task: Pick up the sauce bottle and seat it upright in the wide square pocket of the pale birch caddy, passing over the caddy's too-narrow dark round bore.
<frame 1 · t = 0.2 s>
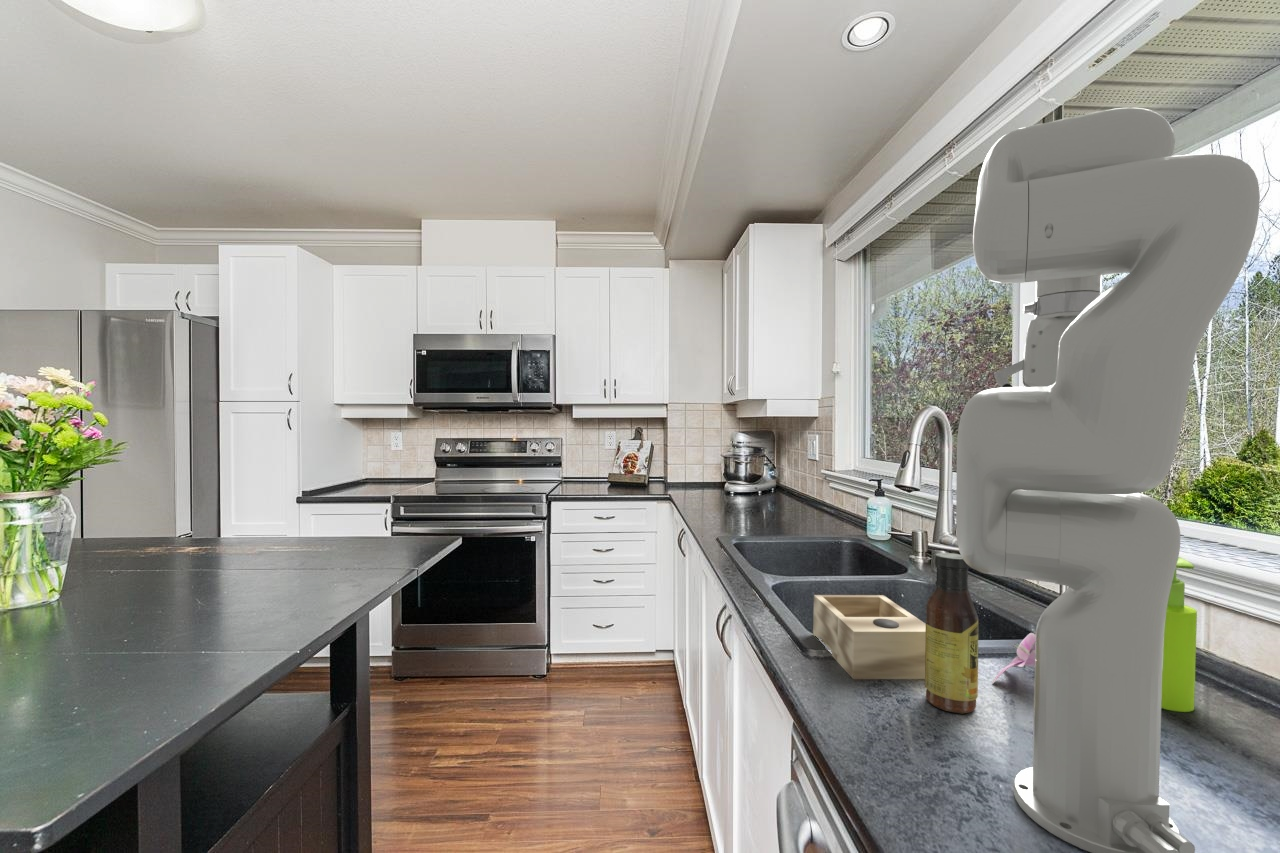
hand: (1064, 430, 82), 37 cm above the worktop, tool pointing down, fingers open, 9 cm apart
sauce bottle: (950, 705, 77), on the worktop
lily: (1027, 685, 84), on the worktop
caddy: (869, 654, 93), on the worktop
soap dispenser: (1166, 704, 78), on the worktop
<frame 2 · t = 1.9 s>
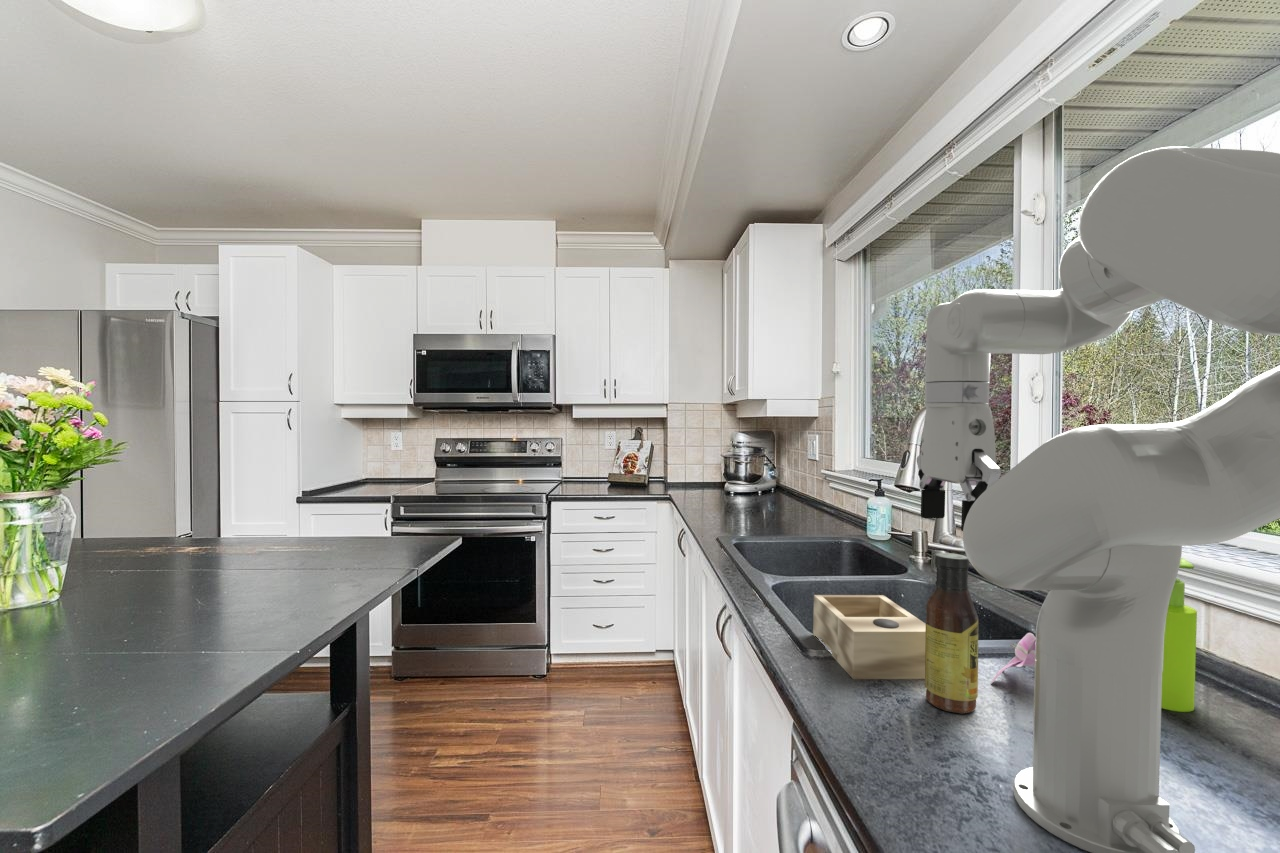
hand: (952, 524, 77), 24 cm above the worktop, tool pointing down, fingers open, 9 cm apart
nothing on the worktop moved.
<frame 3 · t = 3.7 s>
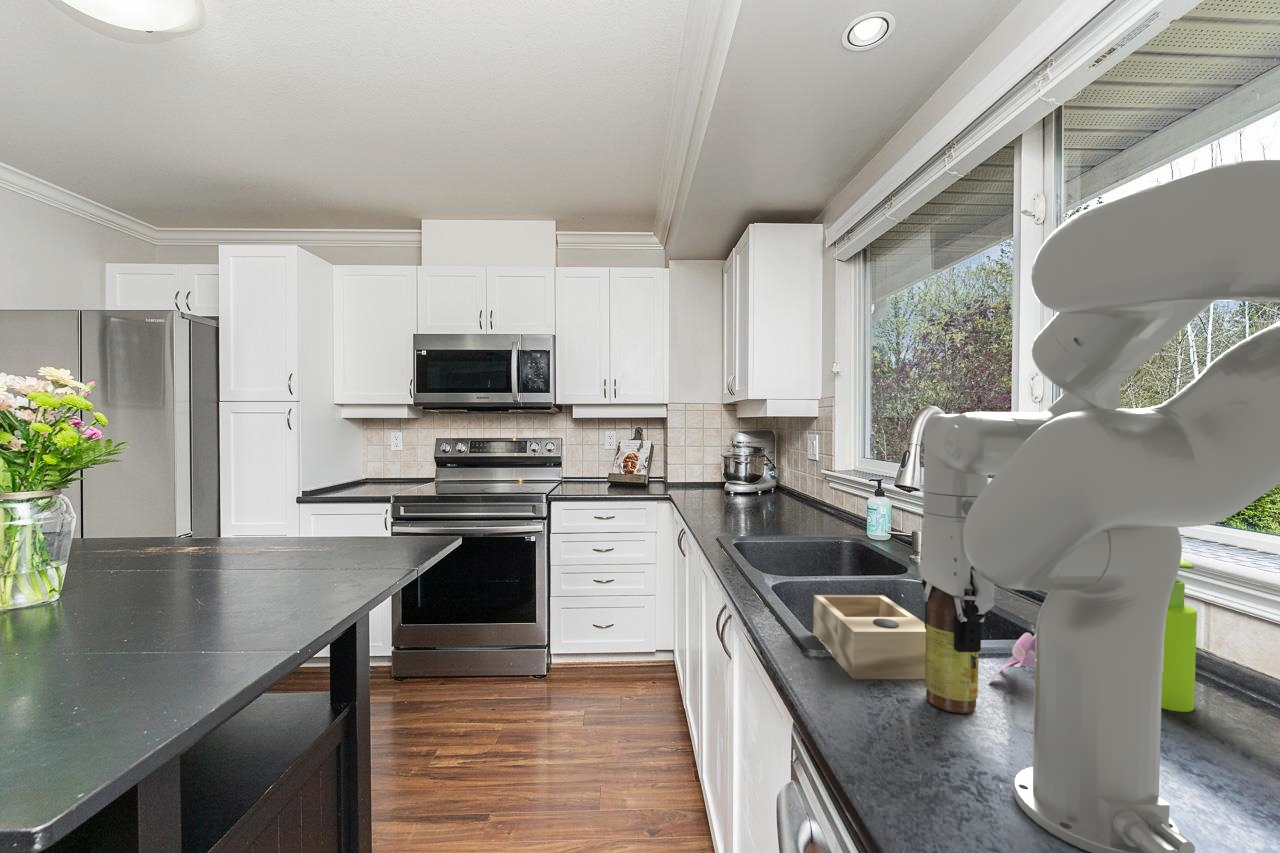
hand: (951, 639, 77), 9 cm above the worktop, tool pointing down, fingers closed on sauce bottle, 6 cm apart
sauce bottle: (950, 705, 77), on the worktop, touching gripper
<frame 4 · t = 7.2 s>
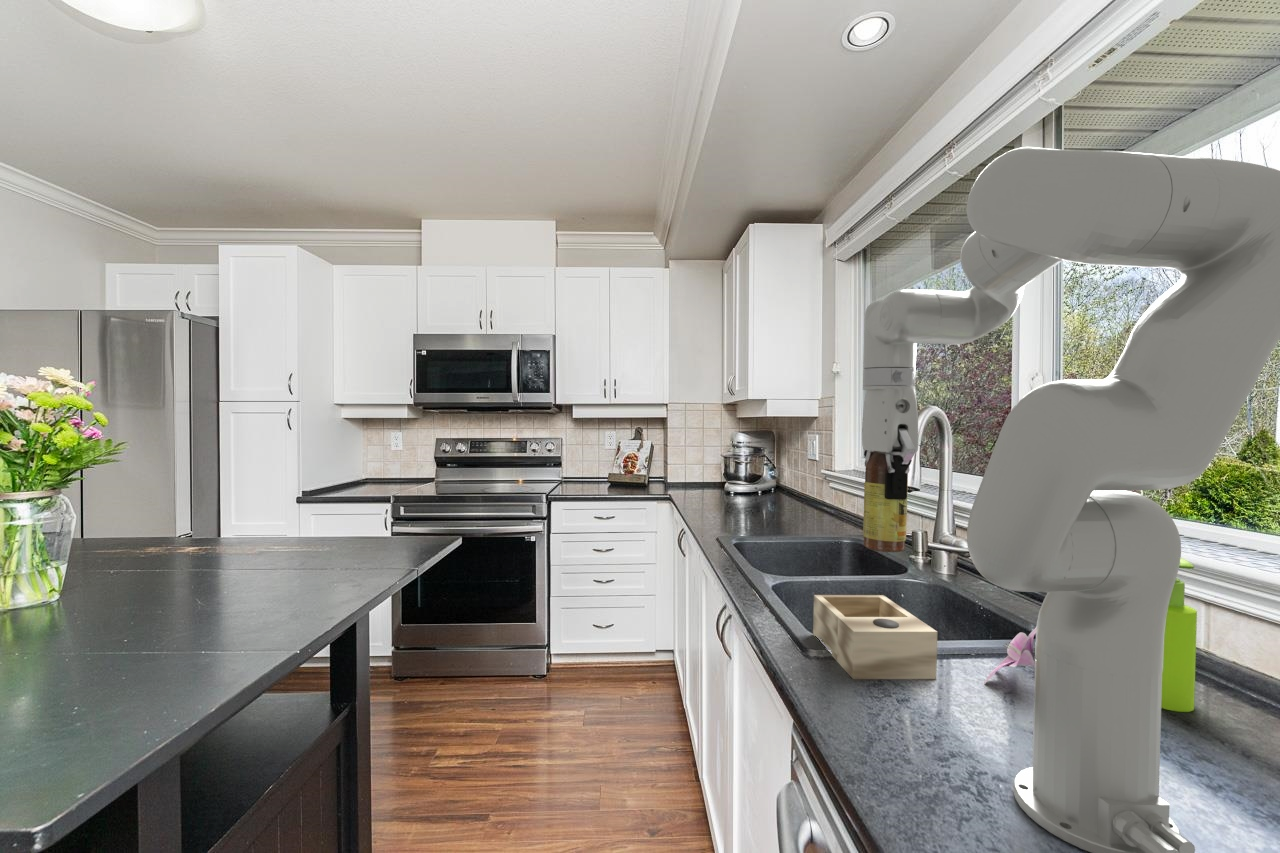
hand: (885, 494, 91), 26 cm above the worktop, tool pointing down, fingers closed on sauce bottle, 6 cm apart
sauce bottle: (883, 550, 91), point 17 cm above the worktop, touching gripper
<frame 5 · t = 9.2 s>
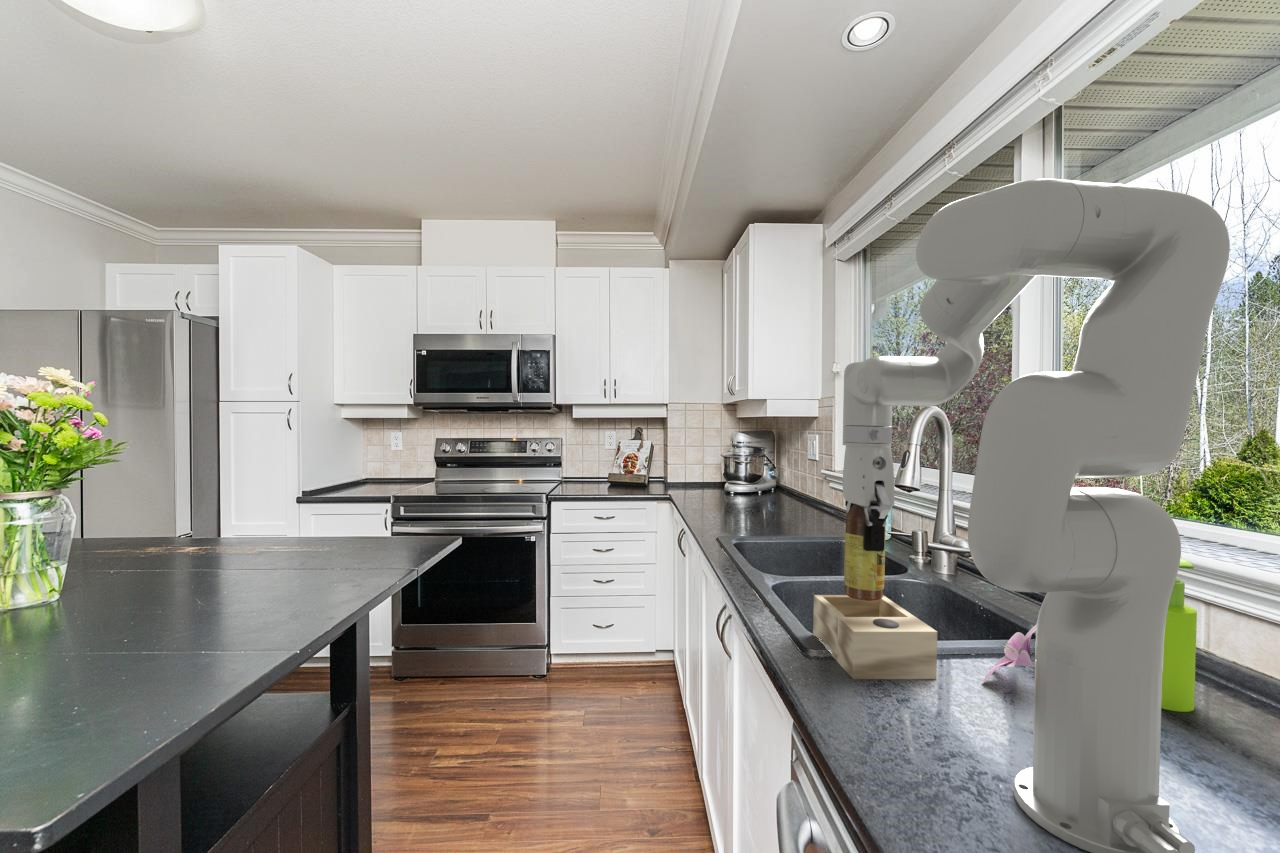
hand: (864, 544, 96), 17 cm above the worktop, tool pointing down, fingers closed on sauce bottle, 6 cm apart
sauce bottle: (863, 597, 96), point 8 cm above the worktop, touching gripper
when the fingers open (11 cm above the worktop, at t = 10.9 s): sauce bottle drops 1 cm, resting on caddy.
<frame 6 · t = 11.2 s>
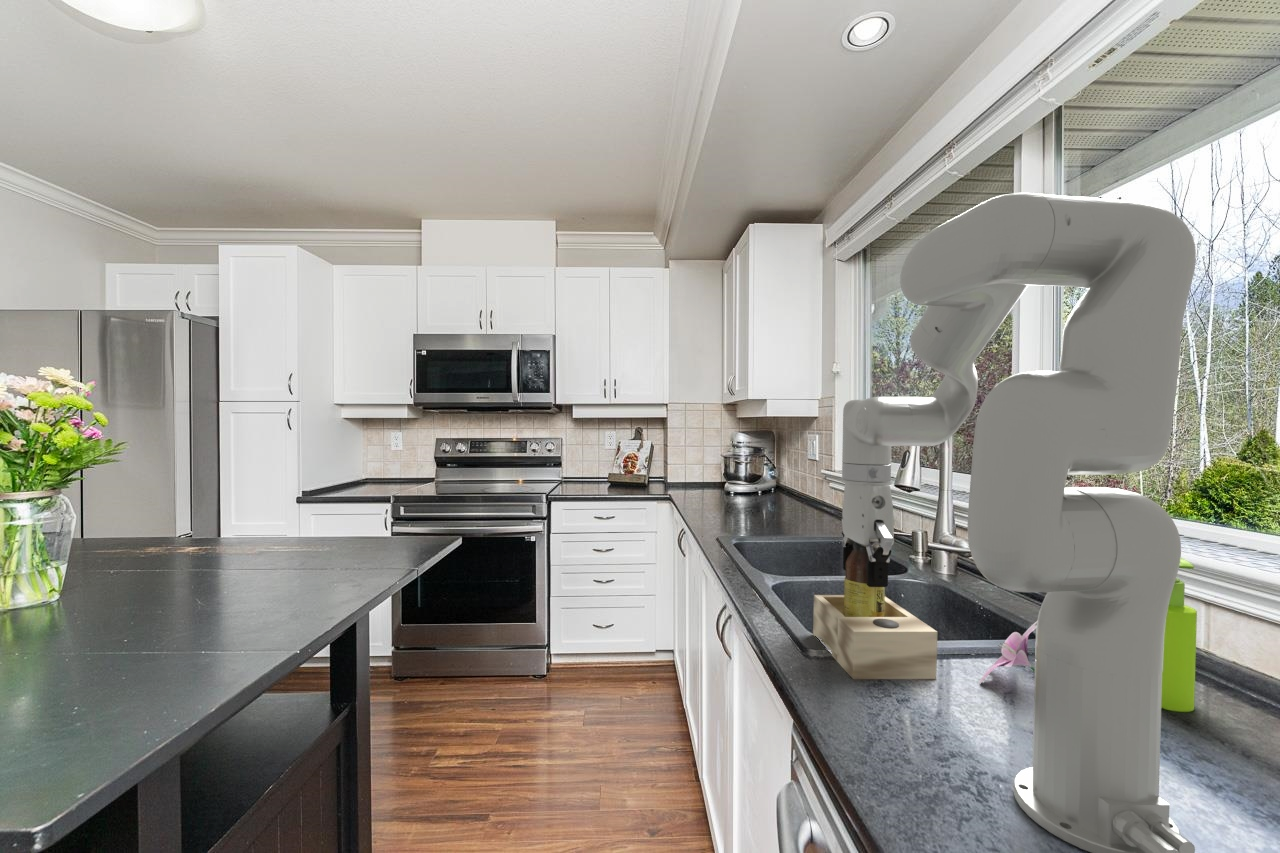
hand: (864, 577, 96), 12 cm above the worktop, tool pointing down, fingers open, 9 cm apart
sauce bottle: (863, 643, 96), point 1 cm above the worktop, touching caddy
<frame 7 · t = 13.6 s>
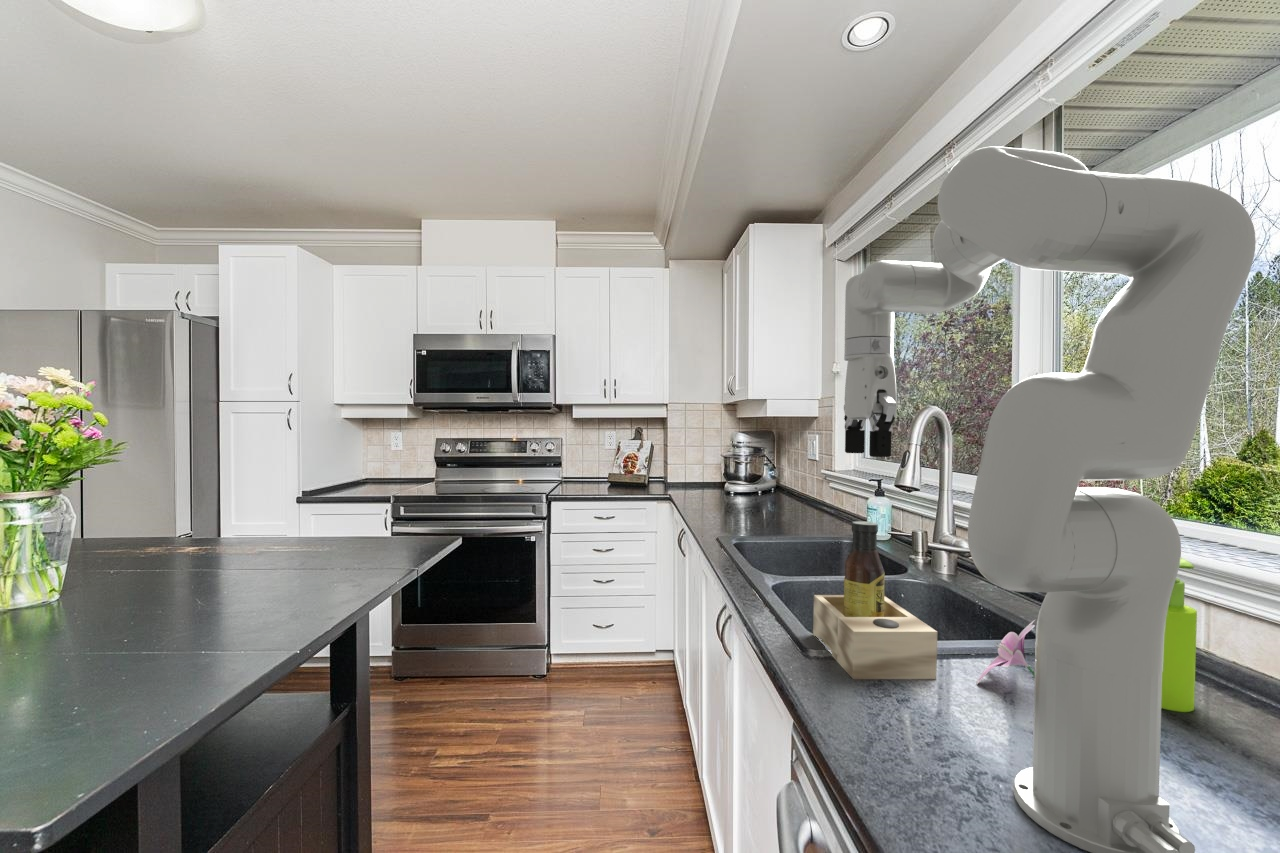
hand: (866, 454, 95), 32 cm above the worktop, tool pointing down, fingers open, 9 cm apart
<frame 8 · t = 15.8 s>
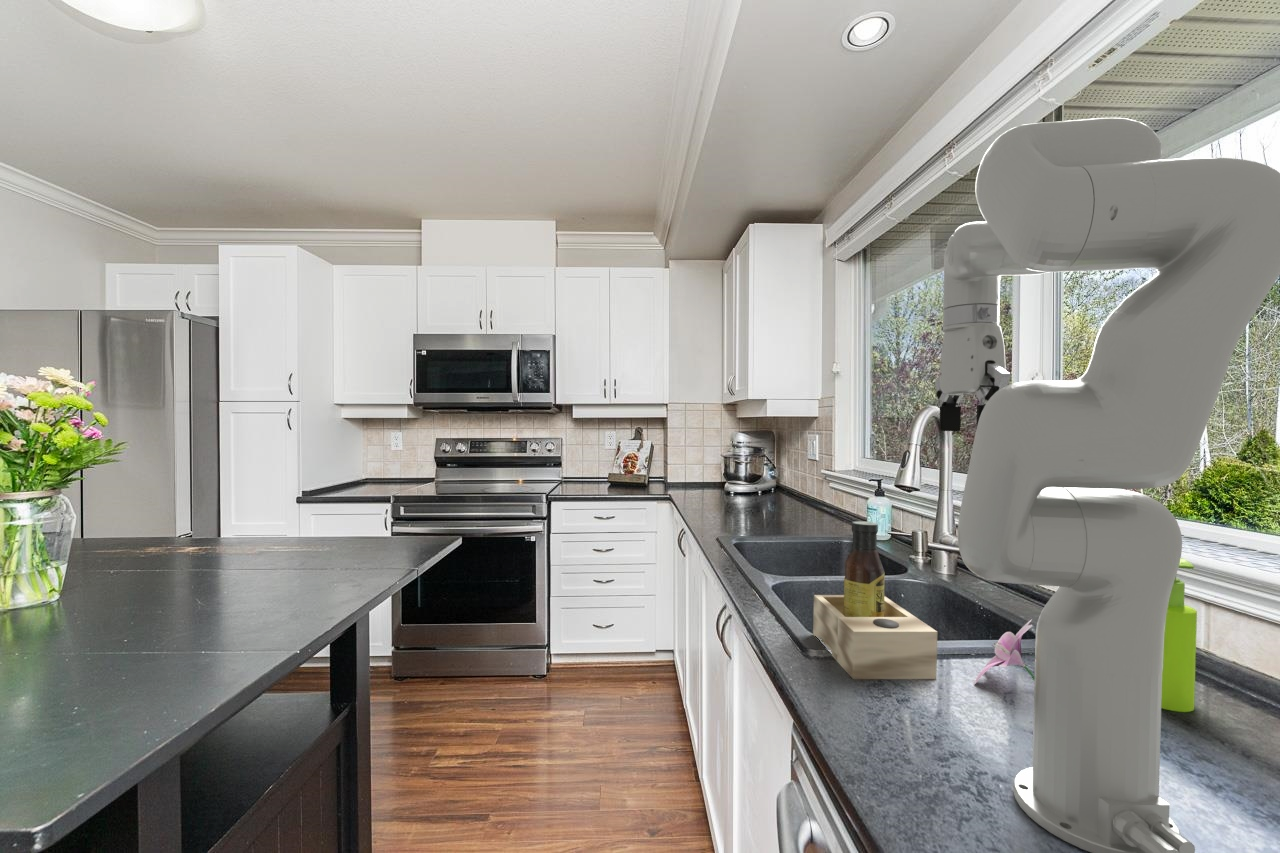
hand: (967, 431, 89), 36 cm above the worktop, tool pointing down, fingers open, 9 cm apart
at the end: sauce bottle 0.1 cm from the target spot on the caddy, point 0.8 cm above the caddy's base; sauce bottle tilted 0°; the gripper is holding nothing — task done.
